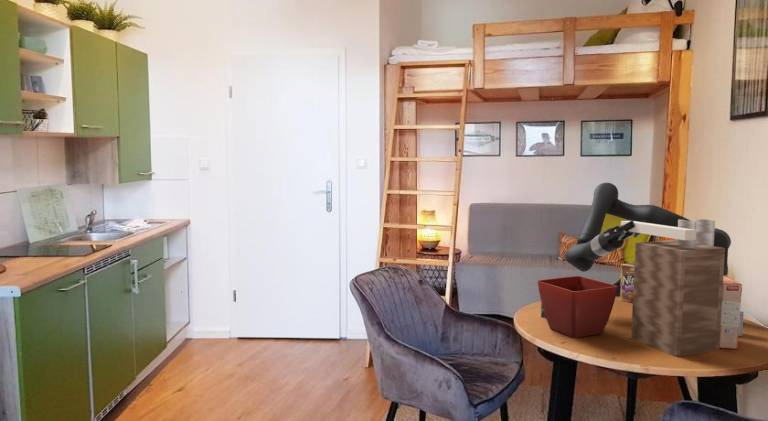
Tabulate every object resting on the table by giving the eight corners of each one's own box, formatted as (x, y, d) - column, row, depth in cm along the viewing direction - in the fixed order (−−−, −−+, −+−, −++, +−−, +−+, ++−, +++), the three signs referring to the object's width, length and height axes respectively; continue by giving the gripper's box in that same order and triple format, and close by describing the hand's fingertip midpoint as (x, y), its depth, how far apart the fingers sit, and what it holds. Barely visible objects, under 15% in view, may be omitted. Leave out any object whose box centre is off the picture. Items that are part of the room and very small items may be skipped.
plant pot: (534, 326, 204) (536, 279, 202) (577, 320, 212) (579, 275, 210) (572, 342, 187) (574, 291, 185) (617, 335, 194) (619, 286, 192)
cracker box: (739, 349, 180) (743, 283, 178) (718, 348, 181) (722, 282, 179) (721, 336, 194) (724, 274, 192) (701, 335, 195) (705, 273, 193)
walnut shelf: (631, 338, 191) (636, 218, 187) (671, 333, 197) (677, 216, 193) (676, 356, 174) (683, 224, 170) (718, 349, 180) (726, 222, 176)
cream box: (620, 229, 196) (620, 221, 196) (630, 229, 198) (631, 220, 198) (684, 240, 172) (685, 230, 172) (695, 239, 174) (696, 229, 173)
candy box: (619, 300, 241) (620, 264, 239) (625, 299, 243) (626, 263, 242) (639, 305, 233) (641, 267, 232) (645, 303, 236) (647, 266, 234)
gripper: (586, 233, 205) (618, 213, 190) (618, 231, 210) (652, 212, 195) (593, 253, 202) (626, 234, 187) (625, 251, 207) (660, 232, 192)
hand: (639, 223), depth 191 cm, fingers closed on cream box, 4 cm apart
